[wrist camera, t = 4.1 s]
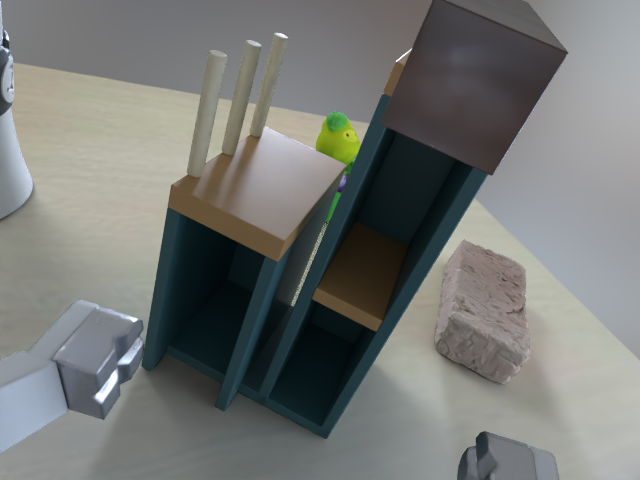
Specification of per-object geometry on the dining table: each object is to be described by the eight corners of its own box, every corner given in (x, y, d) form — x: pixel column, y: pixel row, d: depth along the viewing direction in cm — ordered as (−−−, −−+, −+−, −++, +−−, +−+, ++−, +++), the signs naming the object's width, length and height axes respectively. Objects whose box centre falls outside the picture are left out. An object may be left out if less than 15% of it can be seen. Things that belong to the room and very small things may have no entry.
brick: (509, 389, 45) (537, 359, 42) (429, 350, 46) (452, 317, 43) (505, 292, 59) (526, 264, 56) (444, 263, 59) (462, 234, 57)
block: (492, 176, 13) (570, 52, 11) (378, 124, 13) (434, -5, 11) (499, 58, 31) (528, 3, 29) (450, 37, 32) (476, -19, 30)
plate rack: (317, 463, 33) (525, 130, 18) (138, 365, 34) (199, -15, 20) (360, 349, 43) (517, 75, 28) (220, 277, 44) (300, -19, 30)
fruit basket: (326, 231, 56) (361, 149, 50) (275, 192, 59) (301, 110, 53) (376, 208, 65) (410, 135, 58) (328, 175, 68) (356, 102, 62)
